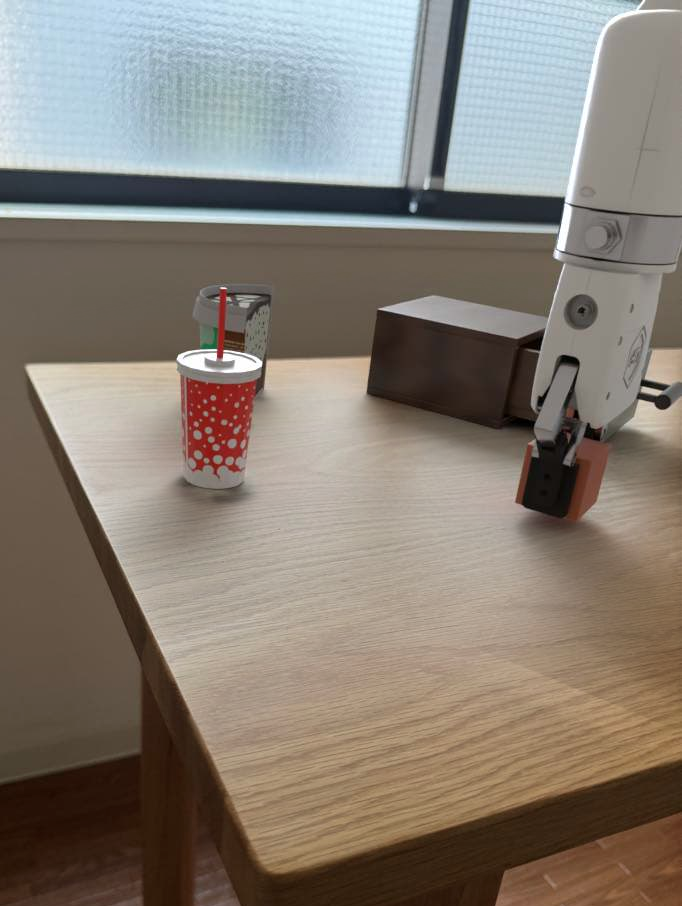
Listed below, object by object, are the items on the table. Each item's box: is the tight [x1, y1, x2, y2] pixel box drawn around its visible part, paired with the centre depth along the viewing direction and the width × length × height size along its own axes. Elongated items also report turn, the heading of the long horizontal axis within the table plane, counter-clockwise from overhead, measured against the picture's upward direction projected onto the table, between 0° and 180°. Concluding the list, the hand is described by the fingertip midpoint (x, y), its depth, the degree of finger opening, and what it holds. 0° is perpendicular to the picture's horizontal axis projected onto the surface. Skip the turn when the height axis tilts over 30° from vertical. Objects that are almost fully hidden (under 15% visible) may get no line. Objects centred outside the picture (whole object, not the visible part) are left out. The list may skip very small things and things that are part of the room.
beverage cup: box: [176, 288, 262, 490], centre depth 61 cm, size 6×6×14 cm
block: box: [514, 433, 612, 523], centre depth 61 cm, size 5×5×5 cm
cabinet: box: [366, 294, 549, 430], centre depth 87 cm, size 15×13×9 cm
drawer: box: [505, 336, 682, 443], centre depth 81 cm, size 18×11×7 cm, turn 54°
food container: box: [192, 283, 275, 402], centre depth 80 cm, size 12×6×10 cm, turn 168°
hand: (557, 497), depth 62 cm, fingers closed on block, 4 cm apart
